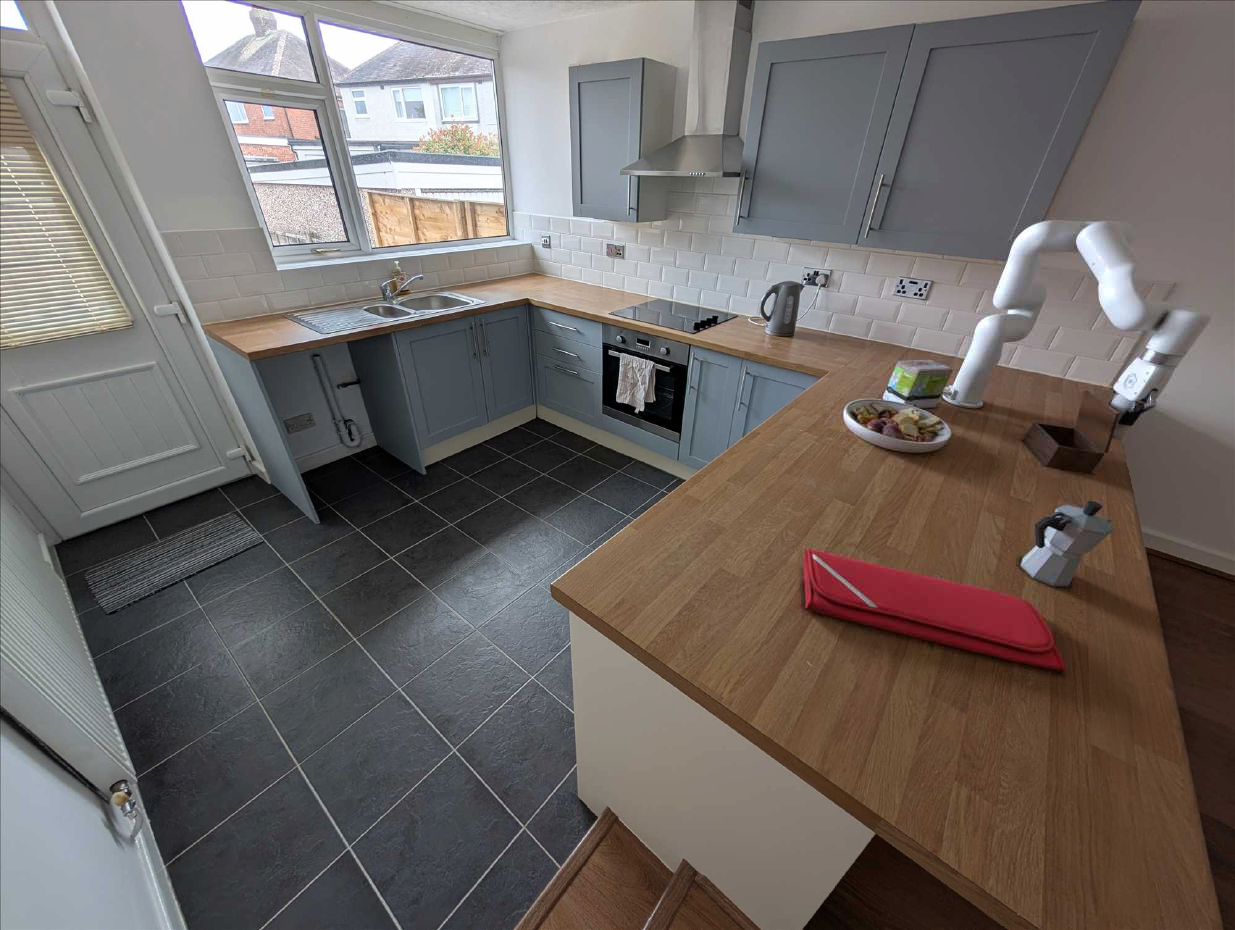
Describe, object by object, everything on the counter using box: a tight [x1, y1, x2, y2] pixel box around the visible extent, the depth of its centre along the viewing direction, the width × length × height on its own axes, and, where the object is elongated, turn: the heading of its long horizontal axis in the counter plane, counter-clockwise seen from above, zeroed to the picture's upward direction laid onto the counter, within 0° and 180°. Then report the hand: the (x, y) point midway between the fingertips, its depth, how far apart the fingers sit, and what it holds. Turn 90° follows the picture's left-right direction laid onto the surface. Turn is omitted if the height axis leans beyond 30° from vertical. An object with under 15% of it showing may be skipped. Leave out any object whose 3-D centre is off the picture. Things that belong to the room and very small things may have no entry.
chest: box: [1022, 421, 1106, 475], centre depth 141 cm, size 11×16×7 cm
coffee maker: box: [1020, 500, 1115, 588], centre depth 95 cm, size 15×9×18 cm, turn 92°
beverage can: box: [1109, 394, 1144, 439], centre depth 133 cm, size 6×6×12 cm
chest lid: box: [1074, 389, 1120, 454], centre depth 135 cm, size 12×16×1 cm
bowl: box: [843, 398, 952, 454], centre depth 148 cm, size 30×30×8 cm
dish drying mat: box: [803, 547, 1067, 672], centre depth 88 cm, size 16×41×4 cm, turn 74°
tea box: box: [882, 359, 954, 409], centre depth 166 cm, size 15×10×15 cm, turn 105°
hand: (1117, 418), depth 133 cm, fingers closed on beverage can, 6 cm apart
